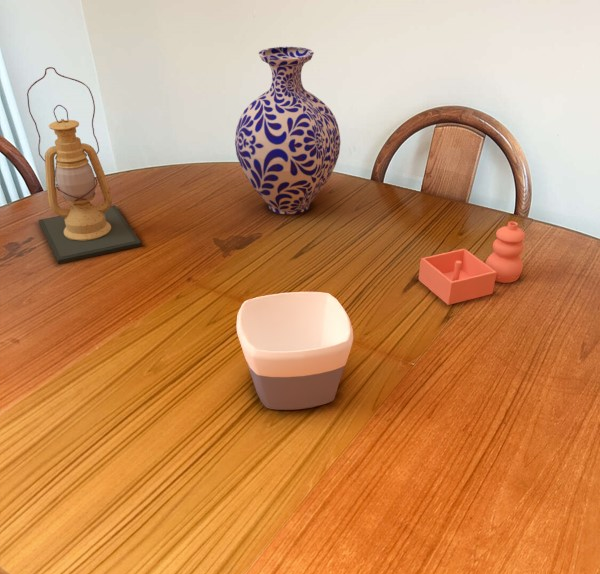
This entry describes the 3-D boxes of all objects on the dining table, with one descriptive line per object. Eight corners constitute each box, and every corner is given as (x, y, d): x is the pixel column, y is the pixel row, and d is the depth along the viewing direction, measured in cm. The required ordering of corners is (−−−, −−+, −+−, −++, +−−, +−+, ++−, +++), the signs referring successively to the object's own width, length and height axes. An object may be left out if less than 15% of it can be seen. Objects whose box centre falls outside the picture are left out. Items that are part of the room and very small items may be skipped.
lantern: (116, 216, 137) (85, 57, 117) (120, 236, 129) (88, 70, 110) (56, 224, 134) (14, 63, 115) (57, 245, 127) (13, 76, 107)
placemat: (58, 264, 123) (57, 259, 122) (39, 223, 136) (38, 219, 136) (141, 246, 128) (141, 241, 127) (115, 208, 142) (114, 204, 141)
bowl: (335, 349, 101) (338, 285, 94) (359, 413, 89) (364, 346, 82) (236, 360, 99) (230, 295, 92) (247, 427, 87) (242, 359, 80)
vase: (219, 204, 143) (205, 52, 124) (292, 178, 154) (290, 35, 135) (284, 236, 131) (281, 73, 112) (358, 206, 142) (367, 53, 123)
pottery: (448, 305, 111) (456, 251, 104) (418, 279, 117) (424, 228, 111) (533, 283, 116) (547, 231, 110) (500, 260, 123) (511, 209, 116)
